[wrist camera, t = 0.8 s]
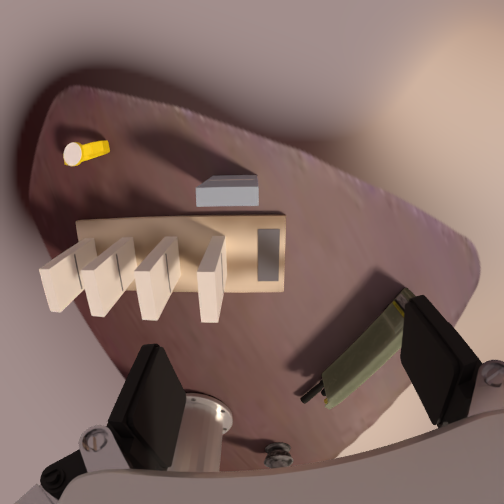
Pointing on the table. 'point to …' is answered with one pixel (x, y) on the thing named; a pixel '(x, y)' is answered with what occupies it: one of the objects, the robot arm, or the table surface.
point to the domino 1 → (67, 274)
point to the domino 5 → (228, 191)
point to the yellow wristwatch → (84, 152)
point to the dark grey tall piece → (278, 455)
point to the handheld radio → (364, 354)
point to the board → (204, 245)
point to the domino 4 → (212, 279)
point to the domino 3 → (157, 277)
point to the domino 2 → (109, 276)
